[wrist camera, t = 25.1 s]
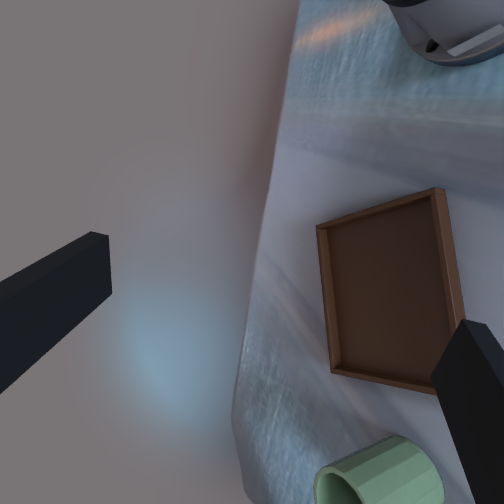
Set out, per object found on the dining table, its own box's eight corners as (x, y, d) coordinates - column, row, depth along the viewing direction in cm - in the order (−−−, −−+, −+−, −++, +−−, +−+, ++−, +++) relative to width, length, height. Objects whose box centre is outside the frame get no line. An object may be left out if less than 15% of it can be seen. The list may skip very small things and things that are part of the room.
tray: (325, 226, 45) (315, 225, 44) (445, 189, 31) (434, 187, 31) (340, 370, 42) (330, 372, 42) (478, 397, 29) (468, 402, 28)
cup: (374, 426, 38) (310, 454, 33) (438, 449, 32) (371, 488, 26) (382, 496, 37) (317, 536, 32) (450, 533, 31) (383, 590, 26)
